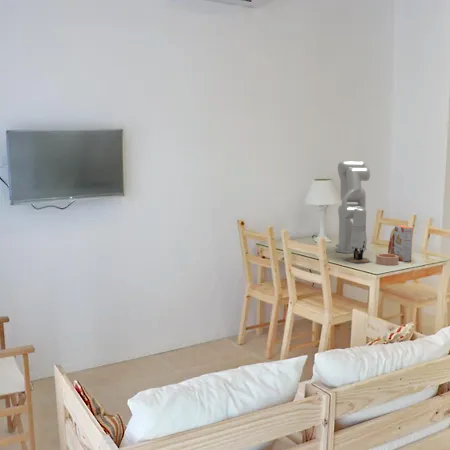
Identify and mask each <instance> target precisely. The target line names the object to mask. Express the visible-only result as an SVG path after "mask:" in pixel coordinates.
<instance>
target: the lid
mask: <svg viewBox="0 0 450 450" xmlns="http://www.w3.org/2000/svg"><path fill="white" fill-rule="evenodd" d="M358 253H359V250H358V251H356V254H355V259H354V256H353V257H347V261H348V263H351V262H352V264H354V263H362V264H369V263H368V262H369V261H370V259H369V258H366V257H363V259H362V260H358ZM347 261H346V262H347Z"/></svg>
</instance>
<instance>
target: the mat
mask: <svg viewBox="0 0 450 450" xmlns="http://www.w3.org/2000/svg"><path fill="white" fill-rule="evenodd" d="M343 261H345V262H348V261H347V259H343ZM348 263H349V262H348ZM351 263H352V262H350V264H351ZM369 263H373V261H372V260H369V262H368V263H367V264H369ZM352 264H355V265H360V264H361V265H362V264H363V263H352Z"/></svg>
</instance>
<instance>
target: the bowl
mask: <svg viewBox="0 0 450 450" xmlns="http://www.w3.org/2000/svg"><path fill="white" fill-rule="evenodd" d="M375 255H376V257H375V258H376V259H375V263H376V264H378V265H382V266H398V264H399V262H400V260H399V256H398V255H394V254H388V253H376V254H375Z"/></svg>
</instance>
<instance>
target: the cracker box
mask: <svg viewBox="0 0 450 450" xmlns="http://www.w3.org/2000/svg"><path fill="white" fill-rule="evenodd" d="M394 228H395V240H394V255H398V256H399V262H405V263H407V262H411V261H412V252H413V251H412V250H413V249H412V246H413V227H410V226H407V225H405V224H395V225H394Z"/></svg>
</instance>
